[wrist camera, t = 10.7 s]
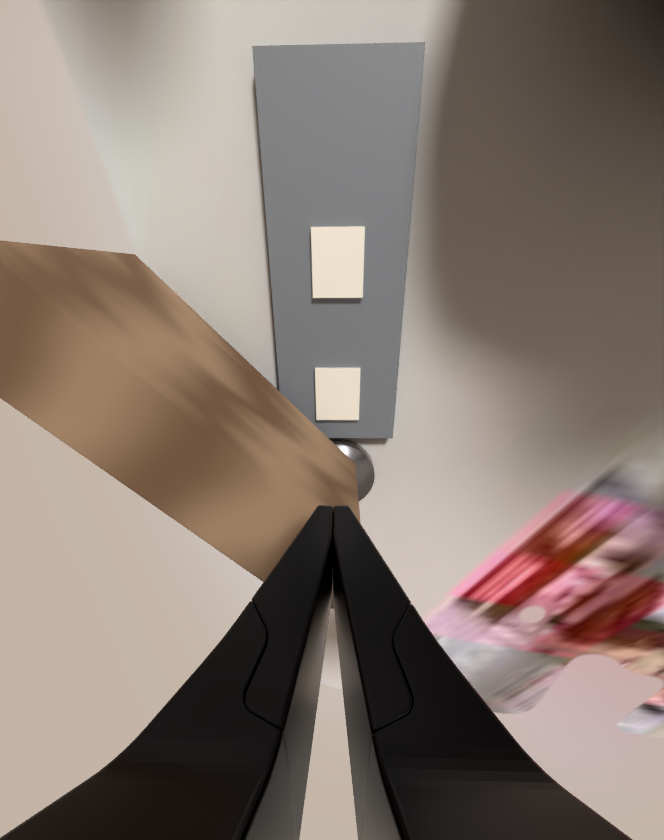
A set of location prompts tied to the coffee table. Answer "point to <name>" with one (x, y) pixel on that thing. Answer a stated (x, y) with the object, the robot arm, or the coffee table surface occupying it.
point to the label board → (339, 222)
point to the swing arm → (162, 401)
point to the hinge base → (358, 465)
